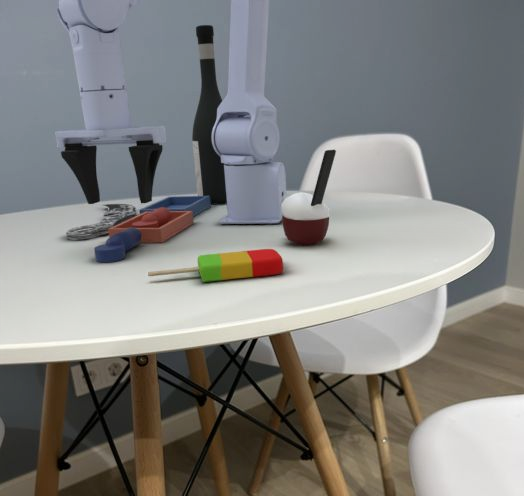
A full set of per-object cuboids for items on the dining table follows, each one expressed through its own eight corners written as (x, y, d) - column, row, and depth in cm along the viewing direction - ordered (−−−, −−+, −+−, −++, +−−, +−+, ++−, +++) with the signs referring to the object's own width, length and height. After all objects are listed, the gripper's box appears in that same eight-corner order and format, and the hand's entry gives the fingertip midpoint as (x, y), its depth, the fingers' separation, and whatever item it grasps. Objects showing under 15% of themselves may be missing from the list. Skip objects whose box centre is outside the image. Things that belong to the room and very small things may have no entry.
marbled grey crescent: (100, 201, 113) (151, 195, 112) (102, 209, 113) (152, 203, 113) (52, 235, 87) (118, 227, 86) (55, 245, 87) (120, 237, 87)
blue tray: (210, 206, 108) (209, 195, 107) (186, 221, 96) (184, 209, 95) (169, 207, 110) (168, 196, 109) (140, 221, 98) (138, 209, 97)
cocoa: (277, 237, 81) (273, 147, 76) (321, 233, 82) (319, 144, 77) (291, 254, 72) (288, 153, 68) (340, 249, 73) (340, 149, 68)
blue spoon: (125, 243, 83) (122, 225, 82) (149, 243, 82) (147, 225, 81) (90, 262, 74) (87, 242, 73) (117, 262, 73) (114, 242, 72)
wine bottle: (192, 205, 110) (173, 25, 98) (207, 198, 117) (191, 29, 105) (232, 205, 108) (218, 21, 96) (244, 197, 115) (233, 25, 103)
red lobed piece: (156, 222, 94) (153, 206, 93) (177, 222, 93) (176, 205, 92) (129, 236, 85) (126, 218, 84) (153, 236, 84) (150, 218, 83)
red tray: (193, 223, 94) (192, 210, 93) (162, 242, 82) (160, 228, 82) (147, 223, 96) (145, 211, 95) (110, 242, 84) (107, 229, 84)
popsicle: (285, 274, 64) (284, 258, 64) (148, 289, 62) (146, 272, 61) (276, 262, 69) (275, 246, 69) (149, 275, 67) (146, 259, 66)
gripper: (33, 94, 70) (55, 208, 76) (143, 87, 67) (158, 207, 72) (64, 94, 76) (82, 199, 82) (167, 87, 73) (179, 197, 78)
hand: (119, 202), depth 77 cm, fingers open, 7 cm apart
